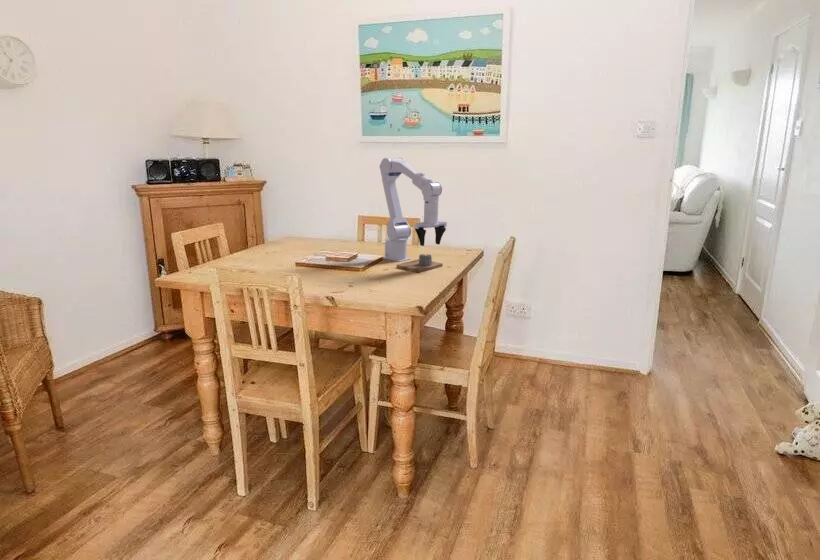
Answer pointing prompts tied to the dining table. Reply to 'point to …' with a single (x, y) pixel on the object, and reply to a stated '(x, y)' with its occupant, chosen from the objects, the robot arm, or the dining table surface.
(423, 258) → the grey control knob
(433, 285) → the dining table surface
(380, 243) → the dining table surface
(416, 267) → the stud board
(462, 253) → the dining table surface
